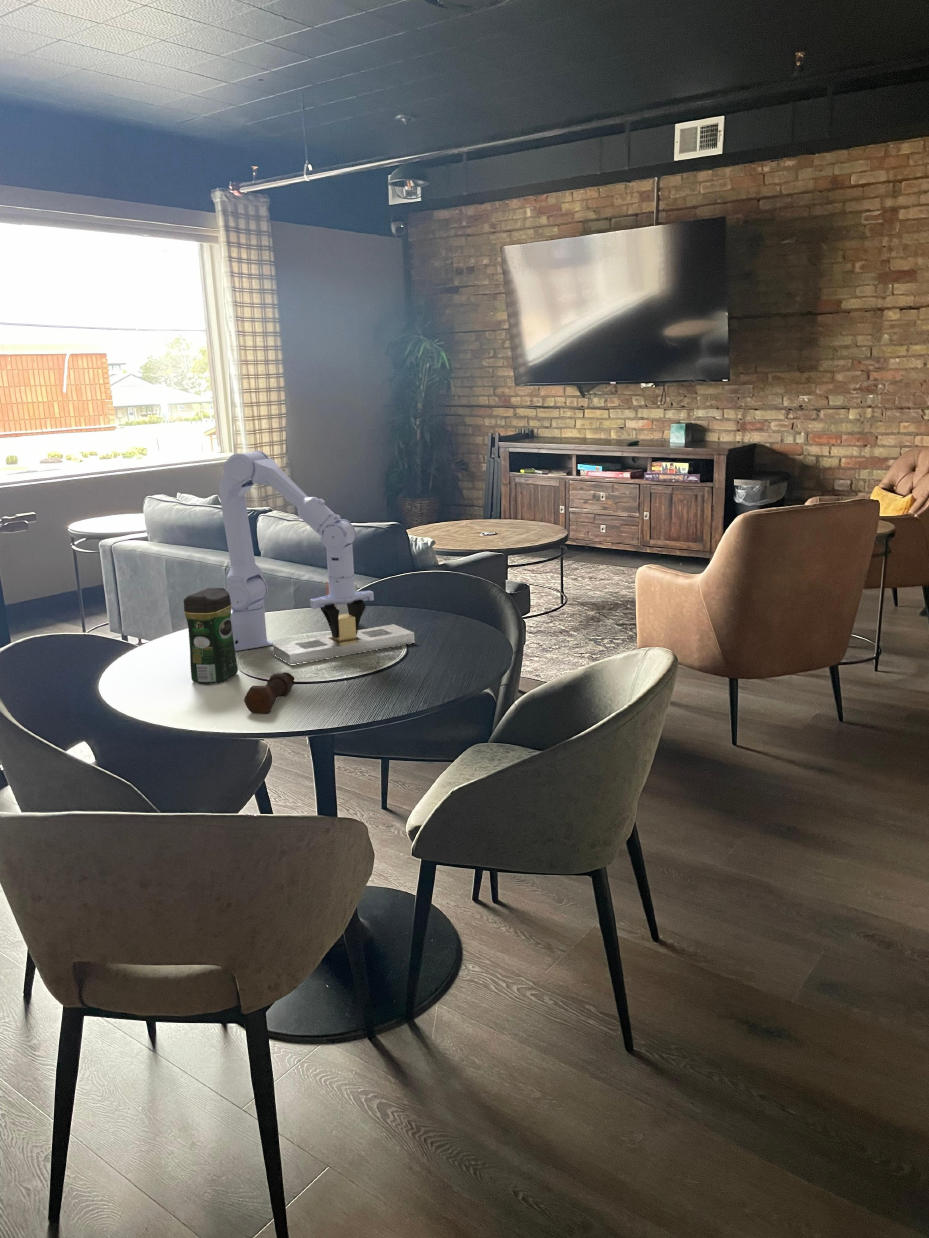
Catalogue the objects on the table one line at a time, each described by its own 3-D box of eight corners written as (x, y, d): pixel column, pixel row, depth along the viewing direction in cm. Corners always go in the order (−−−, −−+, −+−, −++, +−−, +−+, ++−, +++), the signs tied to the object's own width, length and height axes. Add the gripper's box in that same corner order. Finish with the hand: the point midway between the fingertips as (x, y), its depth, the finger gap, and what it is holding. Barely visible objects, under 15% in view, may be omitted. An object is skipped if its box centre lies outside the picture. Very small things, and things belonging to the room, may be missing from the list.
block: (340, 645, 203) (338, 619, 201) (332, 642, 206) (331, 616, 205) (356, 642, 205) (355, 616, 204) (349, 639, 208) (347, 613, 207)
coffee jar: (209, 670, 192) (201, 584, 188) (243, 672, 190) (236, 585, 186) (184, 684, 183) (175, 594, 179) (220, 687, 181) (211, 595, 177)
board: (290, 666, 194) (289, 654, 193) (273, 655, 202) (273, 644, 202) (414, 643, 209) (414, 632, 209) (394, 634, 217) (393, 624, 217)
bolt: (292, 697, 180) (263, 721, 165) (270, 684, 180) (239, 707, 166) (305, 673, 178) (276, 695, 164) (283, 660, 178) (252, 681, 164)
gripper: (317, 583, 195) (321, 644, 198) (378, 574, 202) (381, 634, 205) (304, 577, 201) (309, 637, 204) (364, 570, 208) (367, 627, 211)
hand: (344, 635), depth 205 cm, fingers closed on block, 4 cm apart
